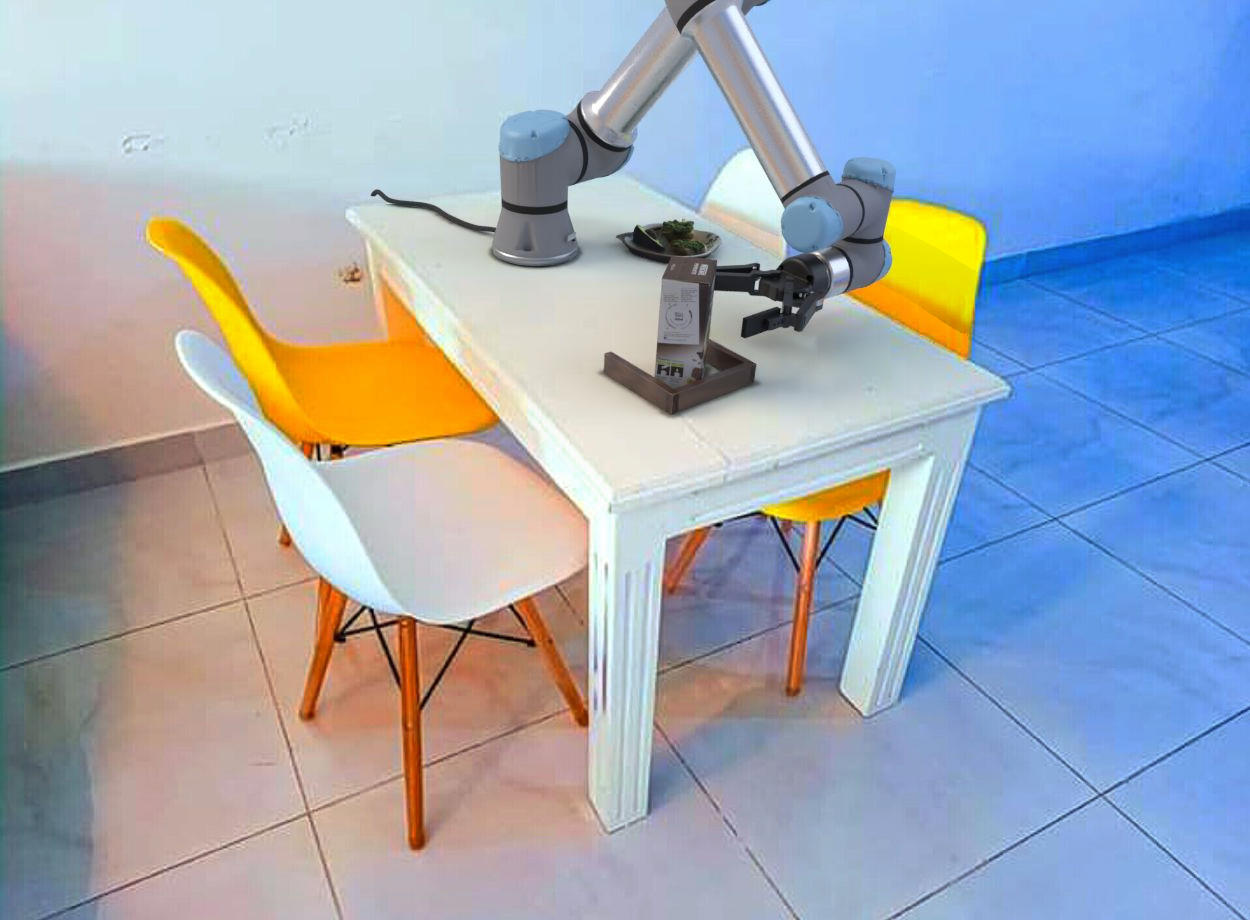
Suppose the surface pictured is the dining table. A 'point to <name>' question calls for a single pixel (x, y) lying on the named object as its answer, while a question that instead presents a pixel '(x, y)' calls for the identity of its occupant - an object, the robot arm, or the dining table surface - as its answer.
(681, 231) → the salad plate
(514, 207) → the robot arm
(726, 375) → the walnut holder
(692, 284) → the coffee box
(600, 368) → the dining table surface
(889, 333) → the dining table surface
